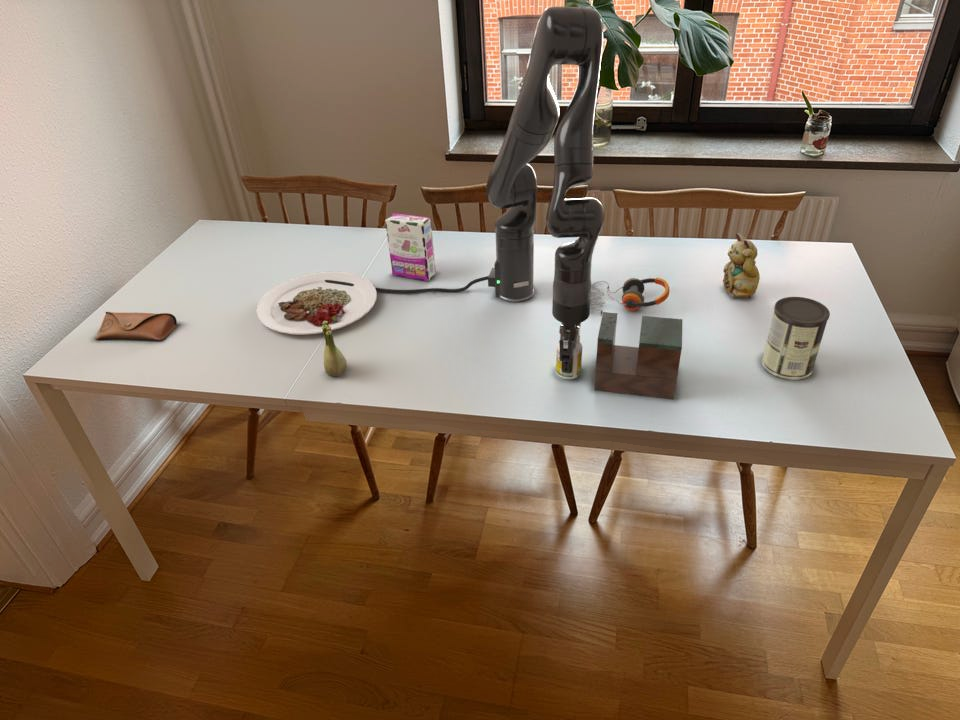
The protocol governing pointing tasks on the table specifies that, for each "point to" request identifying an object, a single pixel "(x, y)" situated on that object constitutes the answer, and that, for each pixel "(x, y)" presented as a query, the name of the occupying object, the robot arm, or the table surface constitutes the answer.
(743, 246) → the decorative figurine
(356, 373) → the table surface
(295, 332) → the plated food
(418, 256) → the candy bar box
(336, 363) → the fennel bulb
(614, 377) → the notched wooden block
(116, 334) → the sunglasses case
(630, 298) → the headphones
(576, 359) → the supplement bottle
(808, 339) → the coffee can
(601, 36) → the robot arm
